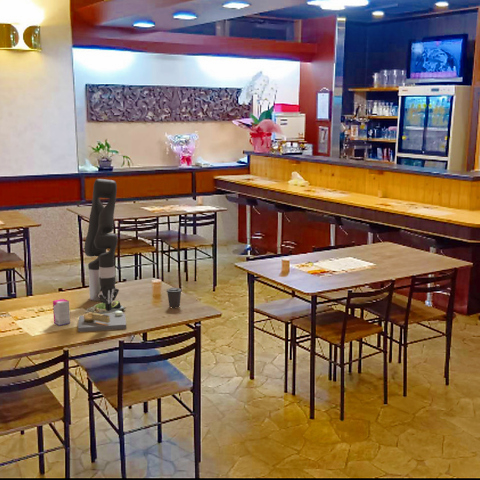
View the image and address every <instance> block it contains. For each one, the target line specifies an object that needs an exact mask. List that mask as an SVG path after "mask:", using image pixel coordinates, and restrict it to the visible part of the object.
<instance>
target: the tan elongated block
mask: <svg viewBox="0 0 480 480" xmlns="http://www.w3.org/2000/svg"><path fill="white" fill-rule="evenodd" d="M83 316H84V321H85V322H93V321H95V320H96V321H101V322H106V323H108V322H110V316H108V315H103V314H98V312H94V311H93V312H89V313H87V312H86V313H84V314H83Z"/></svg>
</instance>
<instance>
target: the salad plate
mask: <svg viewBox="0 0 480 480" xmlns="http://www.w3.org/2000/svg"><path fill="white" fill-rule="evenodd" d="M126 309H127V307H124V305H121V303H120V301H119V300H114V301H112V309H111V310H110V311H106V309H105V303H102V302H100V303H97V304H95V305H93V306H91V307H87V309H86V313H89V312H93V313H94V312H95V311H96V313H98V314H115V312H116V311H122V312H123V311H124V310H126Z"/></svg>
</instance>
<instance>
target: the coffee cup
mask: <svg viewBox="0 0 480 480" xmlns="http://www.w3.org/2000/svg"><path fill="white" fill-rule="evenodd" d="M182 291H183V290H182V289H181V288H180V287H170V288H168V289H166V293H167V299H168V306H169V307H168V308H170V307H172V308H171V309H176V308H175V307H179V306H180V305H181V304H180V303H181V294H182ZM179 308H180V307H179Z"/></svg>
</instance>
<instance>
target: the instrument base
mask: <svg viewBox="0 0 480 480" xmlns="http://www.w3.org/2000/svg"><path fill="white" fill-rule="evenodd" d="M103 315H108V316H110V322H108V323H106V322H101V321H96V320H95V321H93V322H85V321H84V315H79V316H78V323H77V325H78V326H77V329H78V330H77V332H78V333H82V332H83V333H84V332H85V333H87V332H99V331H100V332H101V331H110V330H111V331H112V330H123V329H126V330H127V319H126V313H125V312H123V310H122V311H116V312H115V314H103Z"/></svg>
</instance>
